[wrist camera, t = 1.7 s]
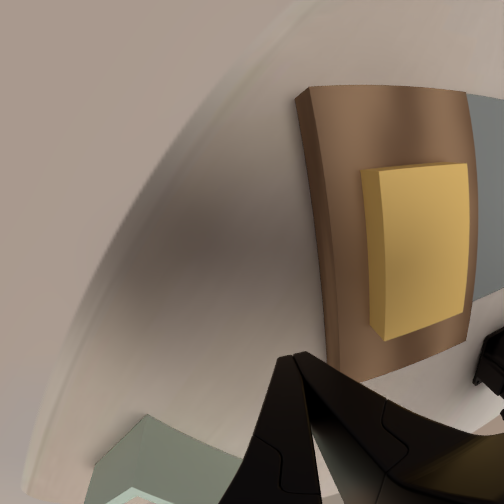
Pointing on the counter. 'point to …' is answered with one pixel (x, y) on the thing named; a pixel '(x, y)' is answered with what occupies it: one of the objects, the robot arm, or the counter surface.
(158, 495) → the right angle wall
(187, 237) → the counter surface
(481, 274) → the mat
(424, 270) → the yellow flat block
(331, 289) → the brown flat block
